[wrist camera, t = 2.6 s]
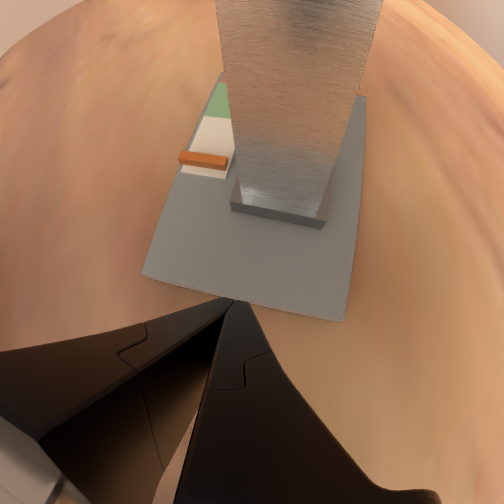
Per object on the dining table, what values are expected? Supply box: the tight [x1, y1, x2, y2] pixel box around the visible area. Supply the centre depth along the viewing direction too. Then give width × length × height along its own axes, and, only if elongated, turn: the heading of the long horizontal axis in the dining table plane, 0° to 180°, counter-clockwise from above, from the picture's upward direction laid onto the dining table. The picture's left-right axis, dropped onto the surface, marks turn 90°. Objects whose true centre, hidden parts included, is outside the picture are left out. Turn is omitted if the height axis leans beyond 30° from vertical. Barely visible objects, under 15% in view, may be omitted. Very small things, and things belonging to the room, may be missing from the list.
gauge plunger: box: [178, 0, 383, 230], centre depth 11 cm, size 5×9×15 cm, turn 77°
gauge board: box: [141, 72, 366, 322], centre depth 18 cm, size 19×11×4 cm, turn 167°
